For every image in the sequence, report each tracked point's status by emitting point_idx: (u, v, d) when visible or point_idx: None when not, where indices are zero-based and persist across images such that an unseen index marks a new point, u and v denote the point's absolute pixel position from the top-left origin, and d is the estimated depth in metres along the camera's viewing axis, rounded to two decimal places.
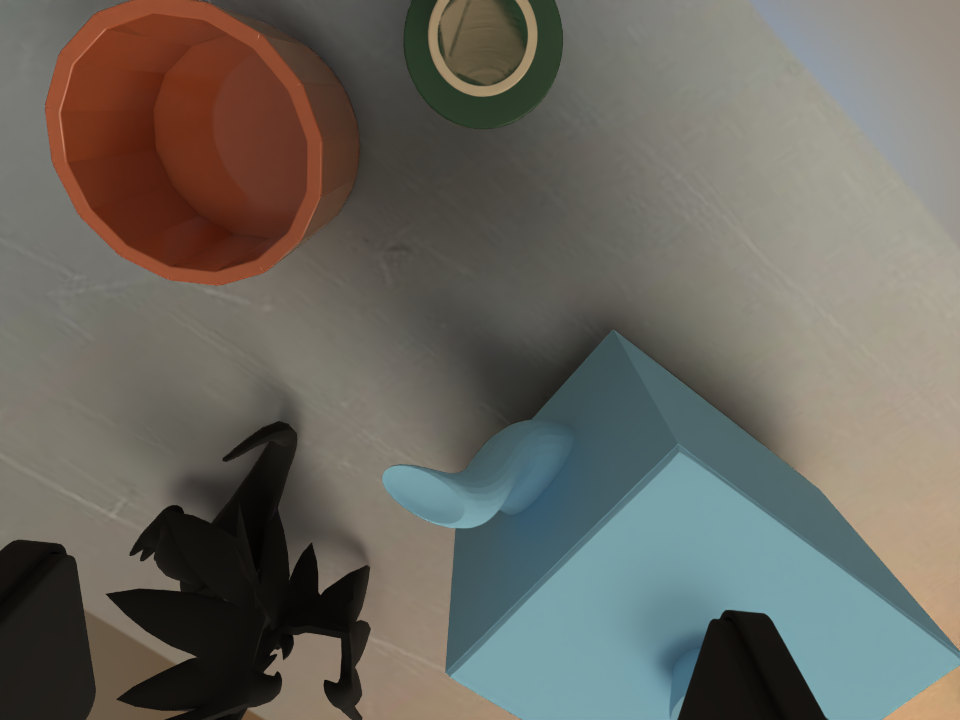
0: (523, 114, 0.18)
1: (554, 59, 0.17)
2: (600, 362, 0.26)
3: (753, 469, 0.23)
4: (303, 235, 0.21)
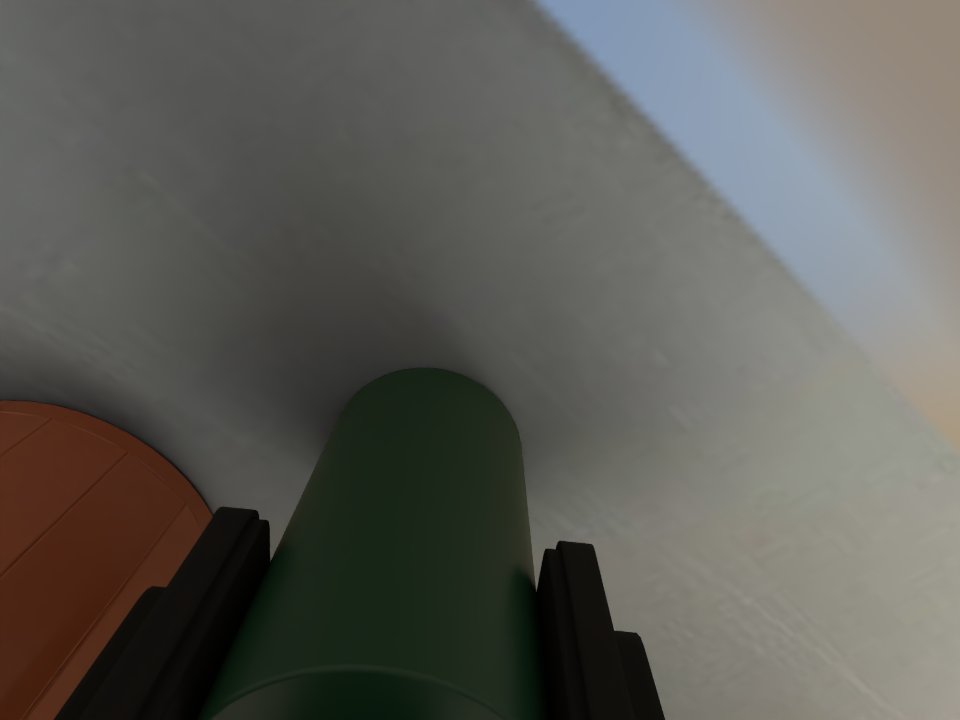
0: None
1: None
2: None
3: None
4: None
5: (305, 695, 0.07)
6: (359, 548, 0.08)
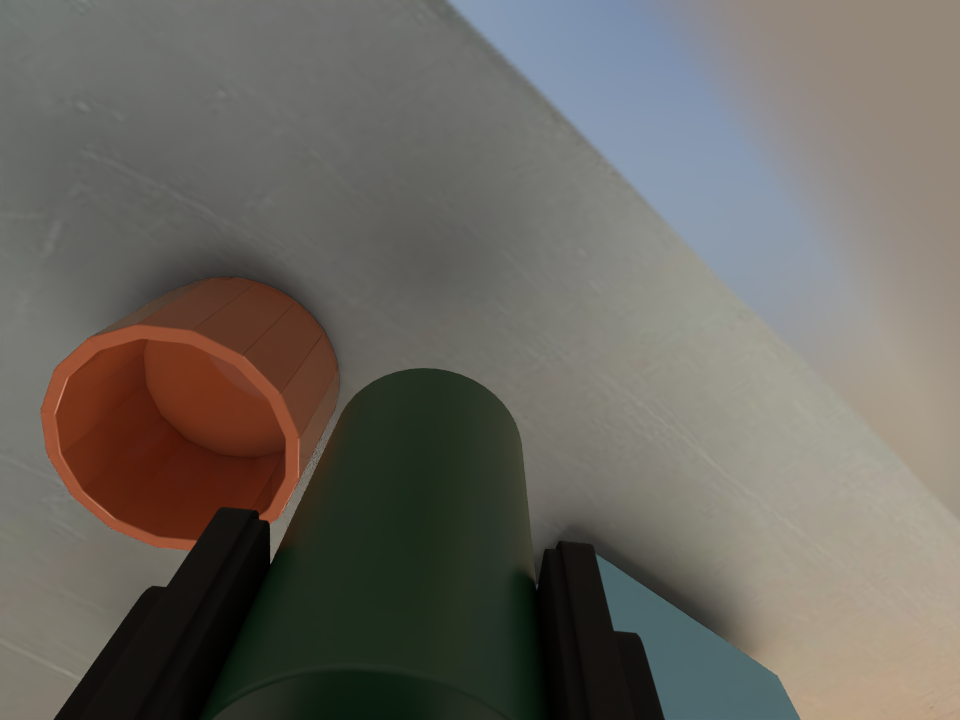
0: None
1: None
2: None
3: (705, 713, 0.24)
4: (282, 511, 0.22)
5: (307, 694, 0.07)
6: (361, 547, 0.08)
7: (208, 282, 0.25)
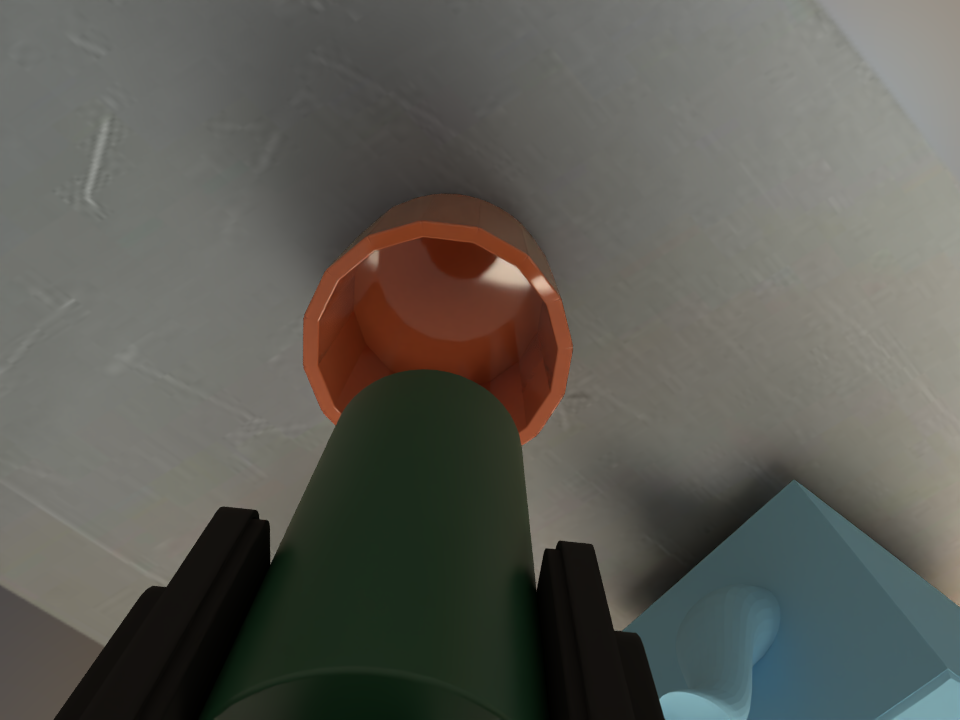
0: None
1: None
2: (788, 518, 0.26)
3: None
4: (540, 429, 0.21)
5: (307, 697, 0.07)
6: (360, 549, 0.08)
7: (438, 196, 0.24)
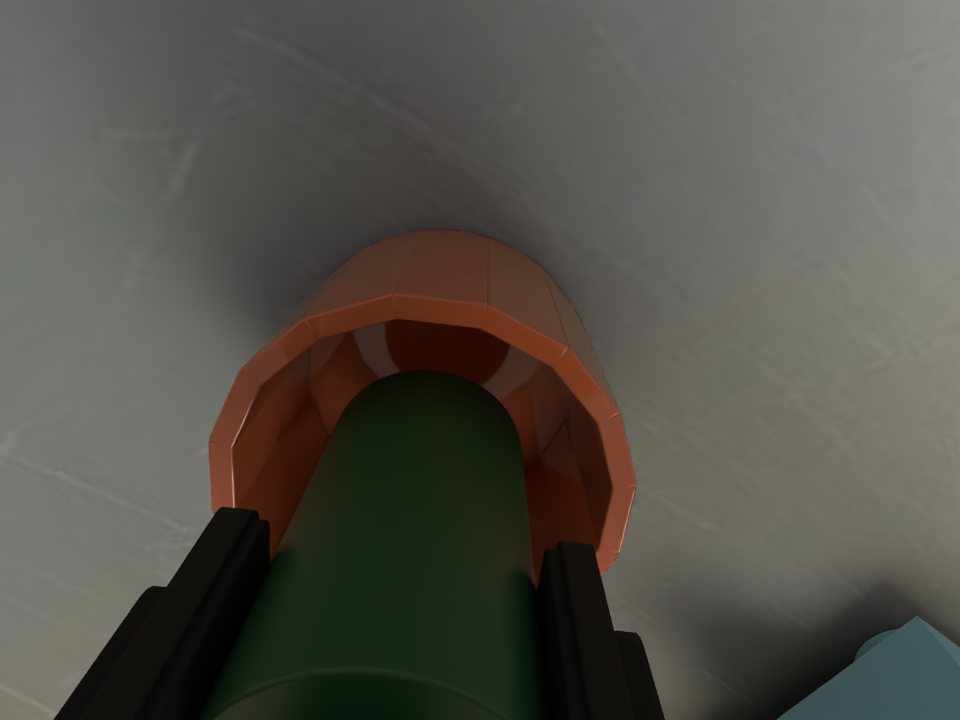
0: None
1: None
2: (915, 678, 0.19)
3: None
4: None
5: (305, 697, 0.07)
6: (359, 550, 0.08)
7: (426, 235, 0.16)
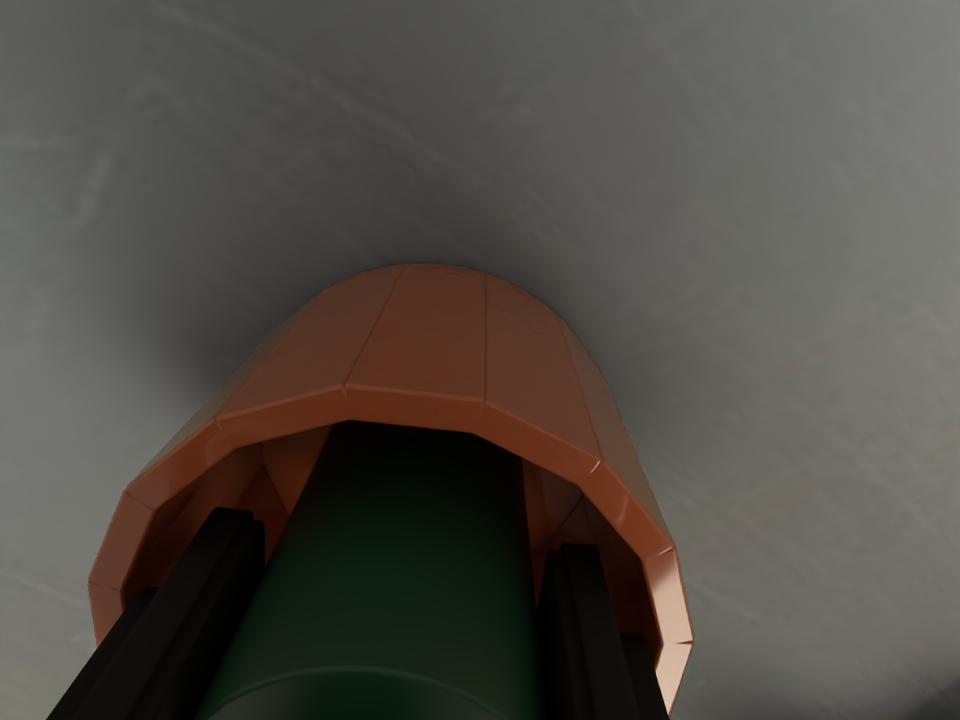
0: None
1: None
2: None
3: None
4: None
5: (301, 696, 0.07)
6: (357, 548, 0.08)
7: (405, 273, 0.12)
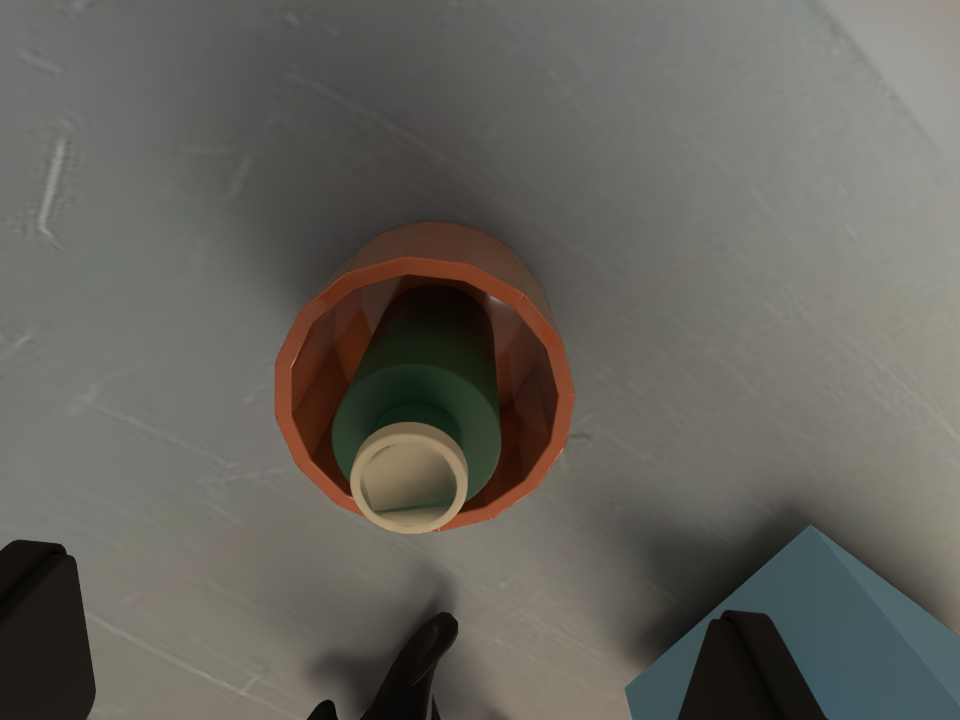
0: None
1: (492, 456, 0.16)
2: (805, 568, 0.24)
3: None
4: (539, 483, 0.19)
5: (393, 378, 0.16)
6: (409, 339, 0.17)
7: (425, 224, 0.22)
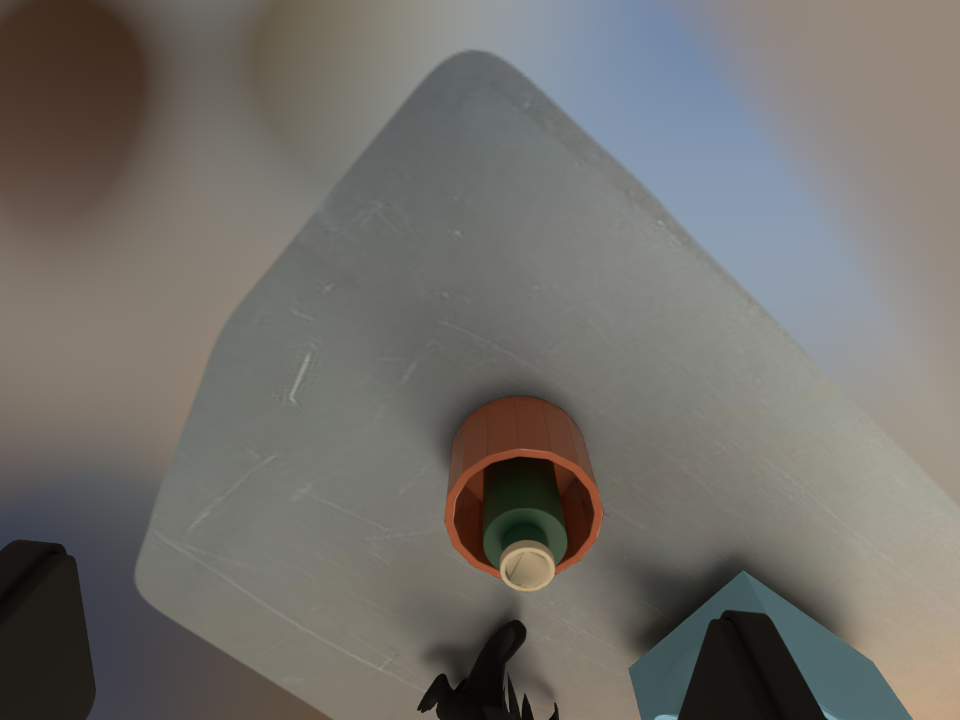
0: None
1: (563, 550, 0.33)
2: (738, 598, 0.41)
3: (844, 684, 0.37)
4: (583, 556, 0.36)
5: (516, 514, 0.32)
6: (518, 487, 0.34)
7: (516, 403, 0.38)
